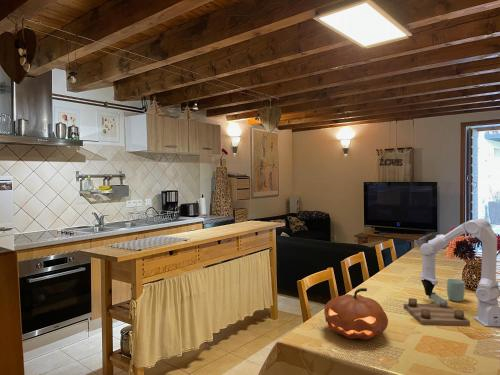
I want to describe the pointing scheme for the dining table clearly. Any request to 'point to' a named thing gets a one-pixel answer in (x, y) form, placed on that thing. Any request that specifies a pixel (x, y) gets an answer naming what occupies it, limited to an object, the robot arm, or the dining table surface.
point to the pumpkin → (355, 316)
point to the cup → (455, 289)
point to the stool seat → (435, 314)
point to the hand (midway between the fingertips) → (428, 295)
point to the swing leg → (438, 300)
